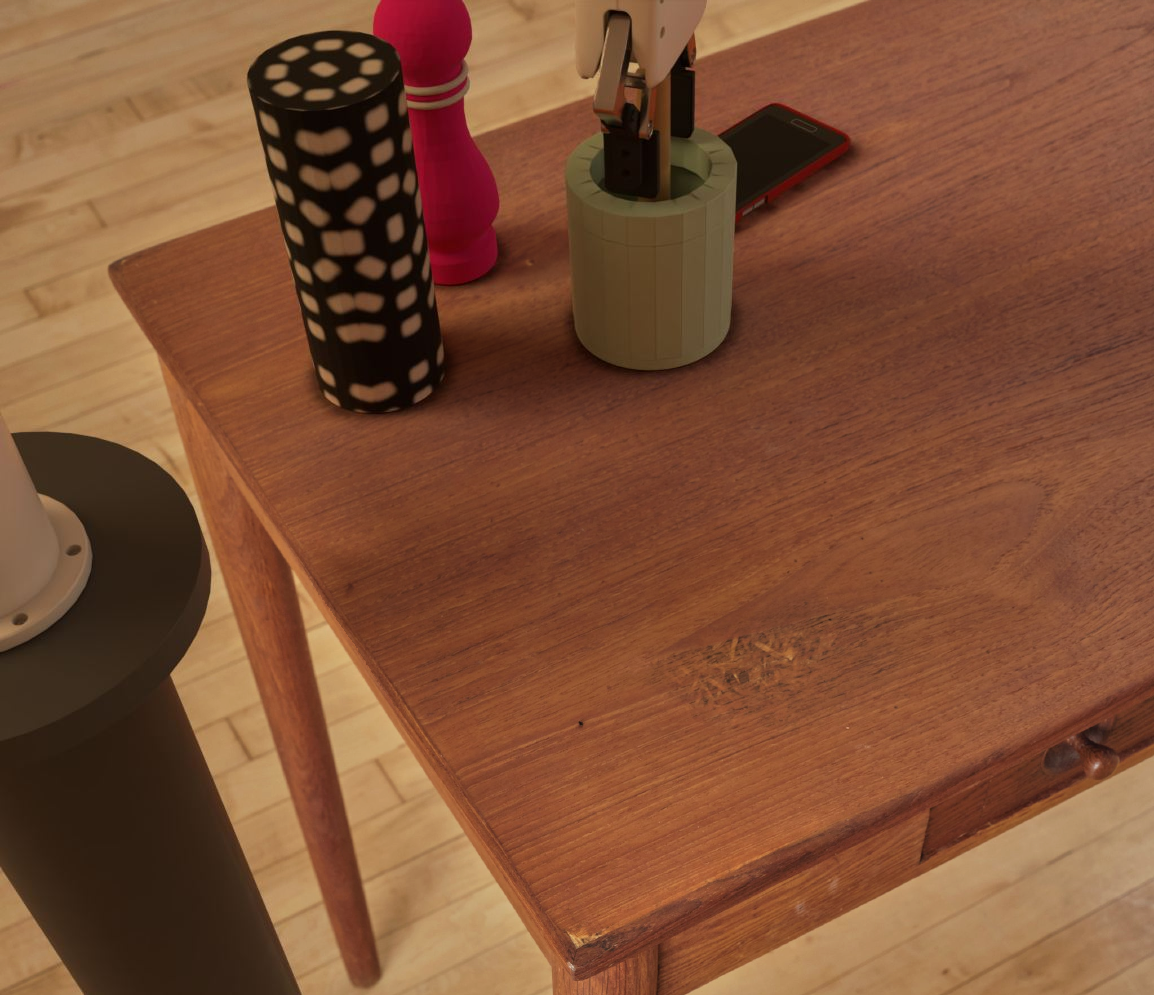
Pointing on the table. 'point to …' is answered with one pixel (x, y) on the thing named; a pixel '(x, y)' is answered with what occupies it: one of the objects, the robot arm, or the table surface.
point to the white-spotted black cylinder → (351, 215)
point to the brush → (661, 134)
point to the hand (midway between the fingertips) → (650, 159)
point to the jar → (653, 256)
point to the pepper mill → (443, 134)
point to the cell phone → (778, 153)
